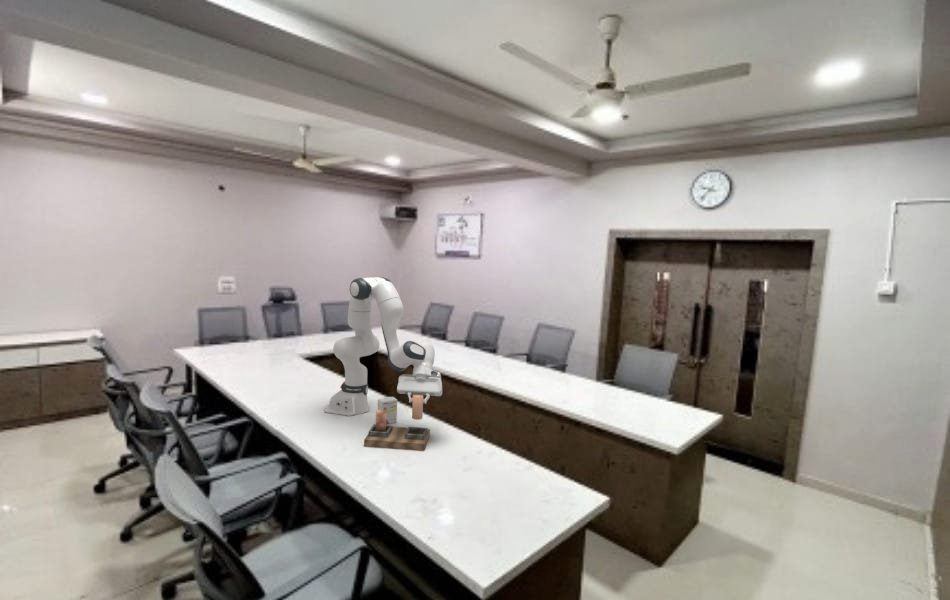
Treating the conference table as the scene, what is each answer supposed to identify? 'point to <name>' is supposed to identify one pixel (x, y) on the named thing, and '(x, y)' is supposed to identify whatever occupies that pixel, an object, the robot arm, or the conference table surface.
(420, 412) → the terracotta pillar
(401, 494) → the conference table surface
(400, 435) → the build base
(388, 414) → the ink box
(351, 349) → the robot arm
